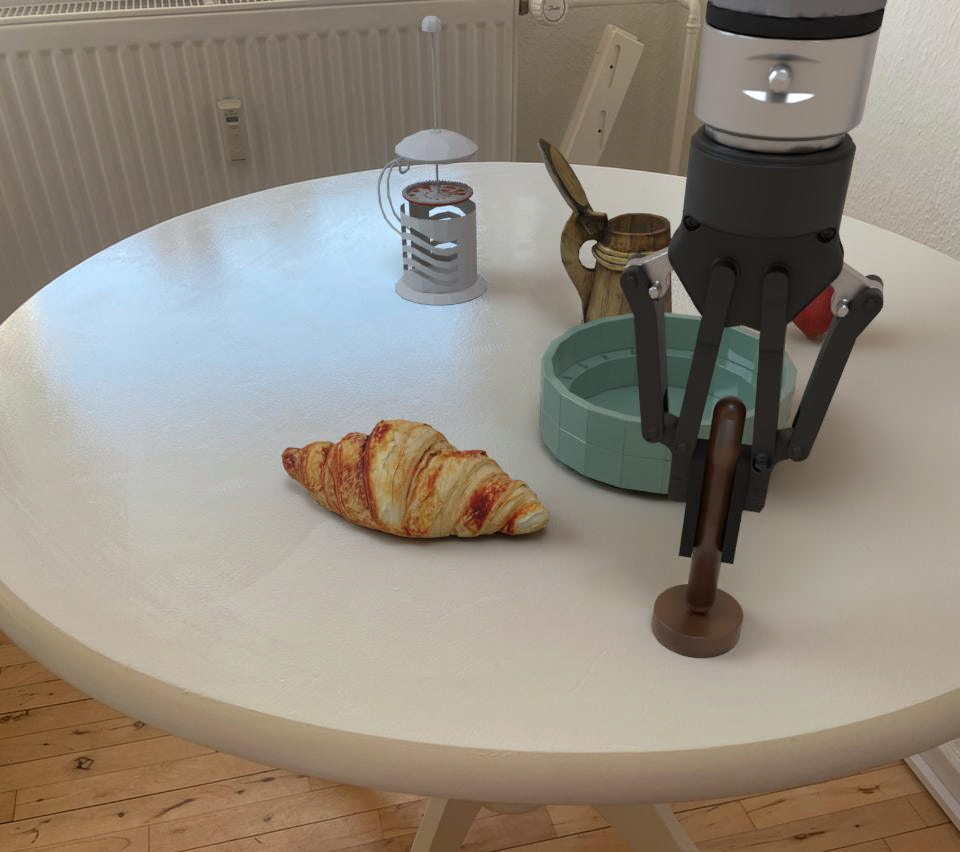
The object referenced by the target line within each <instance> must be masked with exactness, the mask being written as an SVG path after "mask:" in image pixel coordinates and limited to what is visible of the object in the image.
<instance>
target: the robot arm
mask: <svg viewBox="0 0 960 852" xmlns="http://www.w3.org/2000/svg"><path fill="white" fill-rule="evenodd" d="M887 3H888V0H707V2H706V10H705V18H704V21H703V29H702V30H703V31H702V37H701V47H700V56H699V65H698V71H697V72H698V73H697V82H696V89H695V98H694V99H695V100H694V106H693V113H694V114H695V116H696V118H697V119H698V121H699V122H700V123H701V124H702V125H701V126H699V127H698V129H697V130H696V132H694V133H693V134H692V135H691V138H690V142H689V151H688V162H687V171H686V180H685V189H684V198H683V205H682V216H681V221H680V224H679V226H678V227H677V228H676V230H675V231H674V233H673V234H672V235H671V238H672V239H671V241H670V244H669V247H666V248H664V249H662V250H659V251H657V252H655V253H652V254H650V255H648V256H646V255H644V254H642V253H637V254H634V255H632V256H631V257H630V259H629V260H628V262H627V264H626V266H625V269H624V271H623V273H622V275H621V277H620V285H621V288H622V290H623V292H624V295H625V297H626V299H627V301H628V304H629V306H630V308H631V310H632V313H633V315H634V327H635V342H636V357H637V372H638V387H639V402H640V416H641V431H642V437H643V438H644V440H645V441H647V442H649V443H657V442H659V443H661V444H663V445H665V446H667V447H668V448H669V449H670V451H671V454H672V461H671V469H670V478H669V485H668V499H669V501H671V502H680V503H685V506H684V514H683V519H682V520H683V521H682V522H683V523H682V526H681V527H682V528H681V535H680V541H679V542H680V543H679V549H678V557H681V558H682V557H683V558H688V559H692V552H693V548H694V541H695V534H696V527H697V520H698V514H699V507H700V500H701V493H702V487H703V480H704V473H705V466H706V460H707V450H708V443H709V439H701V438H698V433H699V429H700V426H701V421H702V417H703V413H704V409H705V405H706V401H707V397H708V392H709V388H710V384H711V380H712V376H713V372H714V368H715V364H716V360H717V356H718V352H719V347H720V343H721V339H722V335H723V331H724V328H728V327H735V326H741V327H746V328H747V329H750V330H753V331H757V332H759V334H760V338H759V359H758V373H757V386H756V400H755V414H754V427H753V441H752V445H747V444H741V449H740V455H739V457H738V462H737V467H736V473H735V479H734V485H733V490H732V496H731V502H730V508H729V514H728V520H727V526H726V532H725V538H724V544H723V550H722V556H721V564H726V565H727V564H729V565H734V561H735V558H736V557H735V556H736V551H737V547H738V546H737V545H738V541H739V534H740V529H741V523H742V518H743V512H752V513H756V514H757V513H758V514H760V513H761V512H762V510H763V509H764V508H765V506H766V501H767V495H768V491H769V485H770V481H771V475H772V471H773V468H774V466H775V465H777V464H778V463H779V462H783V461H787V460H790V461H793V462H796V463H800V462H805V460H807V459H808V458H809V456H810V454H811V452H812V449H813V447H814V445H815V442H816V441H817V437H818V435H819V432H820V430H821V427H822V425H823V422H824V421H825V417H826V415H827V413H828V410H829V408H830V405H831V403H832V400H833V397H834V396H835V393H836V390H837V388H838V385H839V384H840V380H841V378H842V376H843V374H844V371H845V368H846V366H847V363H848V361H849V358H850V355H851V353H852V351H853V348H854V346H855V344H856V341H857V339H858V337H859V336H860V335H861V334H862V333H863V332H864V331H865V329H867V327H868V326H869V325H870V324H871V323H872V322H873V321H874V319H875V318H876V317H877V316H878V315H879V314H880V313H881V311H882V310H883V308H884V281H883V279H882V277H880V276H879V275H876V274H867V275H864V274H862V273H861V272H860V271H858V270H856V269H855V268H853V267H852V266H851V265H850V264H849V263H847V262H845V261H844V258H845V251H844V250H845V249H844V245H843V243H842V241H841V235H840V229H841V224H842V220H843V214H844V210H845V204H846V201H847V194H848V190H849V185H850V179H851V175H852V172H853V171H852V170H853V165H854V161H855V157H856V151H857V145H856V143H855V142H854V140H853V137H852V136H851V134H850V133H849V132H851V131H853V130H854V129H856V128H857V127H858V126H859V125H861V123H862V121H863V117H864V113H865V108H866V103H867V98H868V93H869V89H870V83H871V79H872V73H873V69H874V64H875V59H876V54H877V49H878V45H879V40H880V35H881V30H882V26H883V21H884V15H885V10H886V7H887ZM672 272H674V273H675V274H676V276H677V278H678V280H679V282H680V283H681V285H682V287H683V289H684V290H685V292H686V294H687V295H688V297H689V299H690V301H691V302H692V304H693V306H694V308H695V309H696V311H697V312H698V314H699V316H702V318H701V322H700V327H699V331H698V335H697V340H696V346H695V350H694V354H693V359H692V363H691V368H690V372H689V376H688V381H687V385H686V390H685V394H684V398H683V403H682V407H681V412H680V416H679V417H678V416H676V415H673V414H671V413H669V393H668V372H667V352H666V331H665V311H664V299H663V296H664V295H665V294H666V292H667V290H668V287H669V284H670V277H669V274H670V273H671V274H672ZM830 285H831V286H832V287H833V289H834V293H833V295H832V299H831V311H832V313H833V314H834V316H833V318H832V321H831V323H830V326H829V328H828V331H827V332H825V333H826V334H825V336H824V339H823V340H822V344H821V346H820V350H819V352H818V354H817V357H816V359H815V362H814V364H813V367H812V370H811V372H810V376H809V378H808V380H807V383H806V385H805V389H804V391H803V394H802V396H801V399H800V401H799V404H798V406H797V408H796V412H795V415H794V417H793V420H792V421H791V424H790V426H789V427H787V428H784V429H778V421H779V409H780V398H781V387H782V376H783V364H784V353H785V351H786V341H787V331H788V324H789V325H790V323H793V322H792V321H793V320H794V319H795V318H796V317H797V316H798V315H799V314H800V313H801V312H802V311H803V310H804V309H805V308H806V307H808V306H809V305H810V304H811V303H812V302H813V301H814V300H815V299H816V298H817V297H818V296H819V295H820V294H821V293H822V292H823V291H824V290H825V289H826V288H827V287H828V286H830Z"/></svg>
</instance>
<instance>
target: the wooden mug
mask: <svg viewBox="0 0 960 852" xmlns="http://www.w3.org/2000/svg"><path fill="white" fill-rule="evenodd" d="M537 148H538V150H539V153H540V156H541V159H542V161H543V164H544V167H545V170H546V171H547V173H548V176H549V177H550V179H551V181H552V182H553V184H554V186H555V187H556V189H557V190H558V192H559V193H560V195H561V197H562V198H563V200H564V201H565V204H566V205H567V206H568V207H569V208H570V209H571V210H572V213H571V215H570V216H569V217H568V219H567V221H565V224H564V226H563V229H562V231H561V234H560V243H559V252H560V258H561V263H562V265H563V267H564V270H565V271H566V274H567V275H568V278H569V279H570V281H571V283H572V285H573V286H574V288H575V290H576V292H577V294H578V296H579V298H580V301H581V309H582V310H581V311H582V319H581V320H580V323H579V325H582V324H585V323H587V322H590V321H593V320H596V319H600V318H606V317H612V316H619V315H625V314H631V313H632V310H631V308H630V306H629V304H628V301H627V299H626V297H625V295H624V292H623V290H622V288H621V285H620V277H621V275H622V273H623V271H624V269H625V266H626V264H627V262H628V260H629V259H630V257H631V256H632V255H634V254H637V253H642V254H644V255H646V256H648V255H650V254H652V253H655V252H657V251H659V250H662V249H664V248H666V247H669V244H670V241H671V239H672V228H671V227H672V226H671V222H670V219H668V218H667V217H665V216H662V215H660V214H659V215H658V214H653V213H648V212H628V213H623V214H619V215H616V216H613V217H611V218H609V215H608V214H607V213H606V212H602V211H595V210H594V208H593V207H592V206H591V204H590V202H589V200H588V199H589V198H588V196H587V194H586V191H585V189H584V188H583V186H582V183H581V182H580V180H579V178H578V176H577V175H576V173H575V171H574V170H573V167H572V166H571V165H570V163H569V162H568V161H567V159H566V158H565V156H564V155H563V154H562V152H561V151H560V150H559V149H558V148H557V147H555V146H554V145H553V144H552V143H550V142H548V141H547V140H545V139H544V138H542V137H540V138H539V139H538V141H537ZM589 241H595V242H596V243H594V244H592V246H591V255H592V256H593V258H594V259H595V263H594V266H593V267H587V266H585V265H583V263H582V260H581V259H580V250H581V248H582V247H583V245H584V244H585V243H586V242H589ZM669 277H670V284H669V287H668V290H667V292H666V294H665V295H664V296H663V299H664V311H665V313H673V297H672V296H673V295H672V290H673V289H672V288H673V287H672V272H671V273H670V274H669Z"/></svg>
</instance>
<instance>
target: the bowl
mask: <svg viewBox="0 0 960 852" xmlns="http://www.w3.org/2000/svg"><path fill="white" fill-rule="evenodd" d="M701 318H702V315H693V314H685V313H683V314H682V313H674V312H672V313H665V331H666V352H667V372H668V393H669V413H671V414H673V415H676V416H678V417H679V416H680V412H681V407H682V403H683V398H684V394H685V390H686V385H687V381H688V376H689V372H690V368H691V363H692V359H693V354H694V350H695V346H696V340H697V335H698V331H699V327H700V322H701ZM759 338H760V333H757V332H755V331H754V330H753V331H752V330H751V329H749V328H747V327H746V328H745V327H744V326H735V327H728V328H724V331H723V335H722V339H721V343H720V347H719V352H718V356H717V360H716V364H715V368H714V372H713V376H712V380H711V384H710V388H709V392H708V397H707V401H706V405H705V409H704V413H703V417H702V421H701V426H700V429H699V433H698V438H701V439H709V436H710V429H711V422H712V416H713V409H714V406H715V404H716V403H717V402H718V400H720V399H721V398H723V397H725V396H730V395H732V396H736V397H739V398H740V399H741V400H742V401H743V402H744V403H745V406H746V409H747V413H746V420H745V426H744V432H743V437H742V443H741V444H747V445H752V441H753V427H754V414H755V400H756V386H757V373H758V359H759ZM540 361H541V365H540V399H539V427H540V434H541V439H542V442H543V443H544V445H545V446H546V447H547V448H548V450H549V451H550V452H551V453H552V454H553V456H554V457H555V458H556V459H557V460H558V461H559V462H561V463H562V464H564V465H565V466H568V467H569V468H571V469H572V470H574V471H576V472H578V473H579V474H580V475H582V476H584V477H586V478H590V479H591V480H592V479H593V480H595V481H598V482H601V483H605V484H608V485H611V486H613V487H616V488H619V489H627V490H633V491H640V492H641V491H642V492H647V493H654V494H661V495H666V494H668V485H669V478H670V469H671V461H672V454H671V451H670V449H669V448H668V447H667V446H665V445H663V444H661V443H659V442H657V443H649V442H647V441H645V440H644V438H643V437H642V431H641V416H640V402H639V387H638V372H637V357H636V342H635V327H634V315H633V313H631V314H625V315H619V316H612V317H606V318H600V319H596V320H593V321H590V322H587V323H585V324H582V325H580V324H579V325H577V326H574V327H570V328H568V329H567V330H565V331H564V332H563V333H561V334H560V335H558V336H557V337H556V338H554V339H553V340H551V341H550V342H549V345H548V347H547V348H546V350H545V352H544V354H543V356H542V357H541V359H540ZM797 375H798V369H797V368H796V366H795V364H794V362H793V361H792V359H791V357H790V355H789V354H788V352H787V351H786V350H785V353H784V364H783V376H782V387H781V398H780V409H779V421H778V429H784V428H788V425H789V421H790V416H791V411H792V410H791V409H792V405H793V399H794V394H795V392H796V391H795V390H796V384H797V383H796V382H797Z"/></svg>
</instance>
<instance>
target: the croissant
mask: <svg viewBox="0 0 960 852" xmlns="http://www.w3.org/2000/svg"><path fill="white" fill-rule="evenodd" d="M280 456H281V462H282V466H283V469H284V470H285V472H286V473H287V475H288V477H290V478H291V479H293V480H294V481H295V482H298V483H299V484H300V485H301V486H303V488H305V489H306V491H308V493H309V495H310V496H311V498H312V499H313V500H314V502H317V503H319V505H320V507H323V508H326V509H327V510H328V511H329V512H333V513H336V514H338V515H340V516H341V517H343V518H344V519H345V520H346V521H348V522H350V523H352V524H355V525H357V526H360V527H364V528H367V529H368V528H369V529H371V530H379V531H381V532H384V533H388V534H392V535H394V536H397V537H398V536H399V537H404V538H422V539H423V538H424V539H425V538H427V539H429V538H431V539H432V538H443V537H449V536H451V535H452V536H453V535H454V536H457V537H458V538H459V537H460V538H472V537H473V538H475V537H479V536H480V535H493V534H494V533H496V532H501V533H503V534H507V535H510V536H515V535H516V536H517V535H524V534H530V533H534V532H537V531H539V530H541V529H543V528H544V527H546V526H547V525H548V523H549V522H550V510H549V508H546V506H544V505H543V503H542V501H541V499H540V498H538V497H537V494H536V493H535V492H534V491H533V489H531V488H530V487H529V485H528V484H527V483H526V482H525V481H523V480H520V479H512V478H510V477H509V474H508V473H507V472H505V471H504V469H503V468H502V467H501V466H500V464H499V463H498V462H497V461H496V459H493V458H491V457H489V455H488V454H487V450H484V449H467V450H459V449H458V448H457V447H456V446H455V445H453V444H452V443H450V442H449V441H448V439H447V437H446V436H445V435H444V434H443V433H442V432H440V431H439V430H438V429H436V428H434V427H433V426H432V425H430V424H429V423H425V422H419V421H412V420H407V419H388V420H387V419H386V420H384V419H381V420H380V421H377V423H376V424H375V426H374V427H373V429H372V430H371V432H370V433H369V434H367V433H363V432H358V431H356V432H355V431H353V432H348V433H347V434H346V435H344V436H343V437H342V438H341V439H340V441H338V442H336V443H334V442H332V441H330V440H325V441H324V440H322V441H321V440H320V441H317V440H316V441H314V442H311V443H308V444H306V445H305V446H303V447H302V448H300V447H296V446H295V447H294V446H292V447H291V446H290V447H288V446H287V447H286V448H285V449H284V451H283V452H282V453H281V455H280Z"/></svg>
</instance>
